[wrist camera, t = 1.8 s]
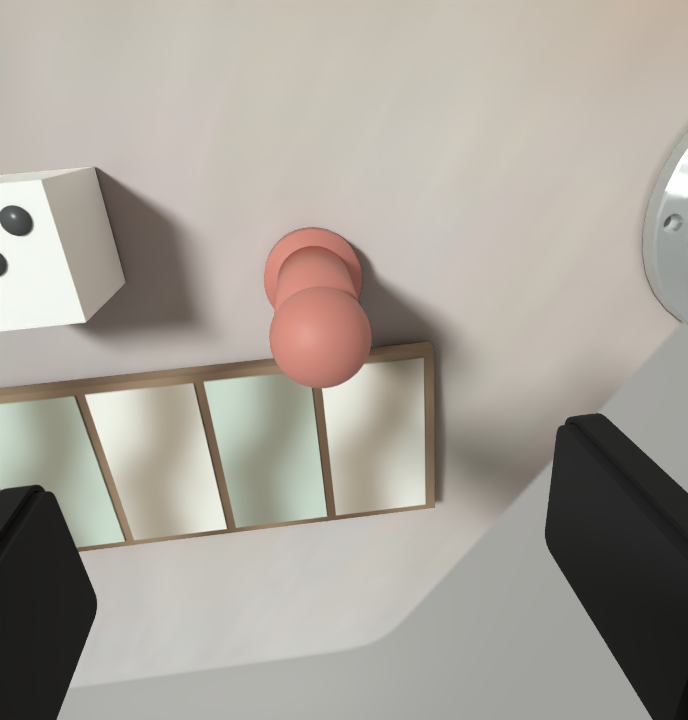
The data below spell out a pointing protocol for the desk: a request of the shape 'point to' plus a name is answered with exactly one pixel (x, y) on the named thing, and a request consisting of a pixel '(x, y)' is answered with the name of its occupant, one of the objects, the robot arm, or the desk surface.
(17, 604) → the robot arm
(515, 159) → the desk surface
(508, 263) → the desk surface
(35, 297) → the die
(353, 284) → the pawn
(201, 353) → the desk surface
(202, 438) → the board
